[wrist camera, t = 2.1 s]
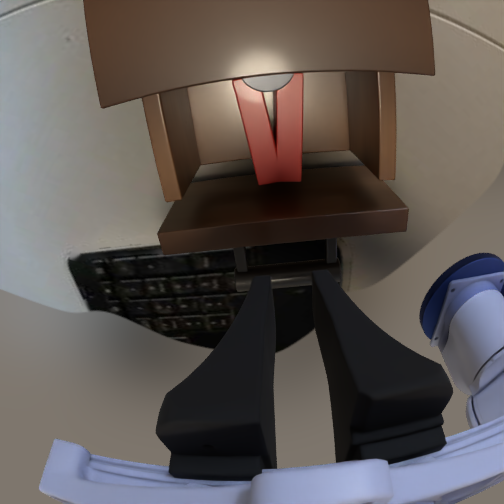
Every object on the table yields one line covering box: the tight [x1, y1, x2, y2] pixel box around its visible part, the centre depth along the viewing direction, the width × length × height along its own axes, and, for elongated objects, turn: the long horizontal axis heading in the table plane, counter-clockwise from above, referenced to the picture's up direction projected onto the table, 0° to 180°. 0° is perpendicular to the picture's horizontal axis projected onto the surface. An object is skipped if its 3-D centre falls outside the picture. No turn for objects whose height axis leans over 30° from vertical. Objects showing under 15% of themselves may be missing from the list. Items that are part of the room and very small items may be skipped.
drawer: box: [142, 71, 409, 292], centre depth 14 cm, size 18×11×6 cm, turn 7°
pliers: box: [232, 73, 304, 185], centre depth 14 cm, size 3×9×4 cm, turn 7°
